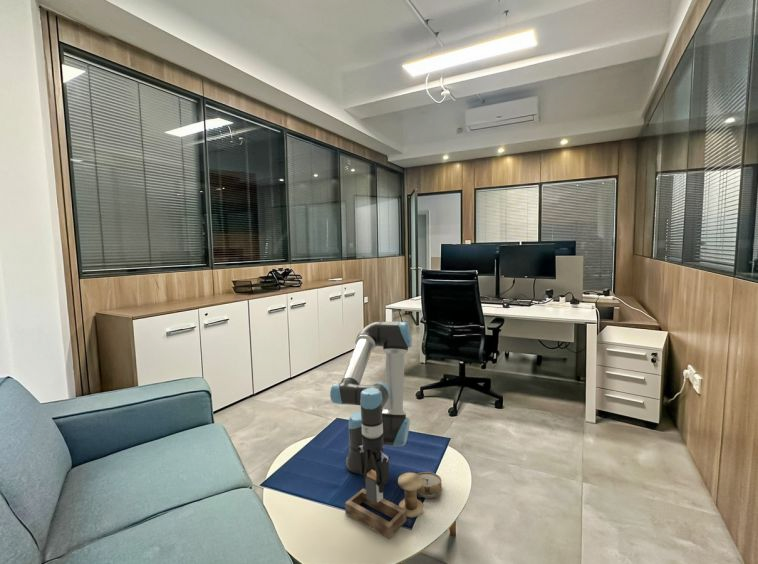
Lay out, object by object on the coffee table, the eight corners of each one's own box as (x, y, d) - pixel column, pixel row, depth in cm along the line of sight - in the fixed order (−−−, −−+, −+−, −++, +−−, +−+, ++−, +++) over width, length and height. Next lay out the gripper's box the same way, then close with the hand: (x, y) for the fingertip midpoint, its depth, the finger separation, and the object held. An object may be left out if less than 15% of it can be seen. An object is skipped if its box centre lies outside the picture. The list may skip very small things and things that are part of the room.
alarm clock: (440, 472, 149) (442, 489, 134) (441, 484, 149) (442, 503, 134) (413, 470, 151) (412, 487, 136) (414, 483, 150) (412, 501, 135)
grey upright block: (373, 493, 131) (372, 468, 130) (382, 497, 128) (381, 472, 128) (366, 498, 128) (365, 474, 127) (375, 503, 125) (374, 478, 125)
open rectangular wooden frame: (345, 513, 131) (345, 502, 131) (363, 498, 139) (363, 488, 139) (389, 538, 119) (388, 527, 118) (406, 520, 126) (406, 509, 126)
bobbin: (394, 510, 132) (393, 481, 131) (407, 497, 139) (407, 469, 138) (414, 521, 126) (413, 491, 125) (428, 506, 133) (427, 478, 132)
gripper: (347, 431, 129) (349, 493, 130) (385, 445, 118) (387, 513, 120) (361, 423, 135) (363, 483, 136) (398, 436, 124) (400, 501, 126)
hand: (374, 497), depth 128 cm, fingers closed on grey upright block, 4 cm apart
